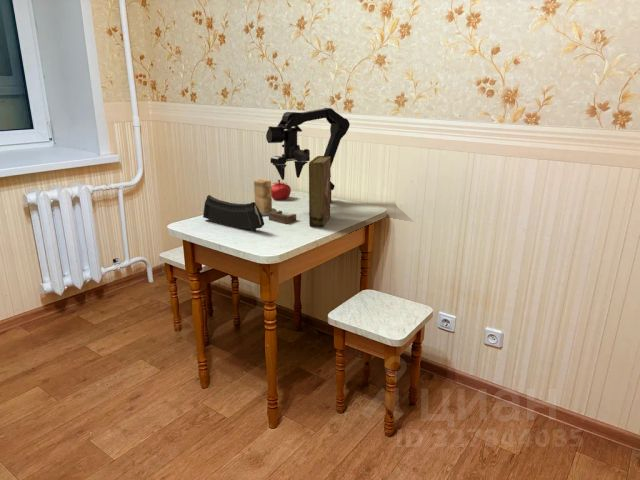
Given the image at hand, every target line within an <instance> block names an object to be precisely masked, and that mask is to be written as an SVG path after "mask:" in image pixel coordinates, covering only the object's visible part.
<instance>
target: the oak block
mask: <svg viewBox="0 0 640 480" xmlns="http://www.w3.org/2000/svg"><path fill="white" fill-rule="evenodd" d="M271 186H272V180H269V179H263V178H262V179H257V180H254V181H253V187H254V191H253V192H254V202H255V204H256V206H257V207H258V209H259V211H260V212H261V213H266V212H269V211H272V208H273V200H272V199H273V198H272V196H271Z"/></svg>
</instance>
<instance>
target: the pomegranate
mask: <svg viewBox="0 0 640 480" xmlns="http://www.w3.org/2000/svg"><path fill="white" fill-rule="evenodd" d="M291 193H292V188H291V186H290V185H288V183H285V182H283V181H282V182H281V179H277V181H276V182H273V183H272V184H271V196H272V199H273V200H274V201H275V200H276V201H281V200H287V199H289V197H290V195H291Z"/></svg>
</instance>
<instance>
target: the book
mask: <svg viewBox="0 0 640 480" xmlns="http://www.w3.org/2000/svg"><path fill="white" fill-rule="evenodd" d="M331 168H332V166H331V157H330V156H324V155H317V156H316V157H314V158H313V159H312V160H311V159H310V161H308V210H309V211H308V215H309V216H308V218H309V219H308V221H309V222H308V223H309V226H310V227H315V226H316V227H321V228H322V227H325V225H326V224H327V223H328V221H329V220H330V218H331V203H330V181H331V178H330V177H332V173H331Z"/></svg>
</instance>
